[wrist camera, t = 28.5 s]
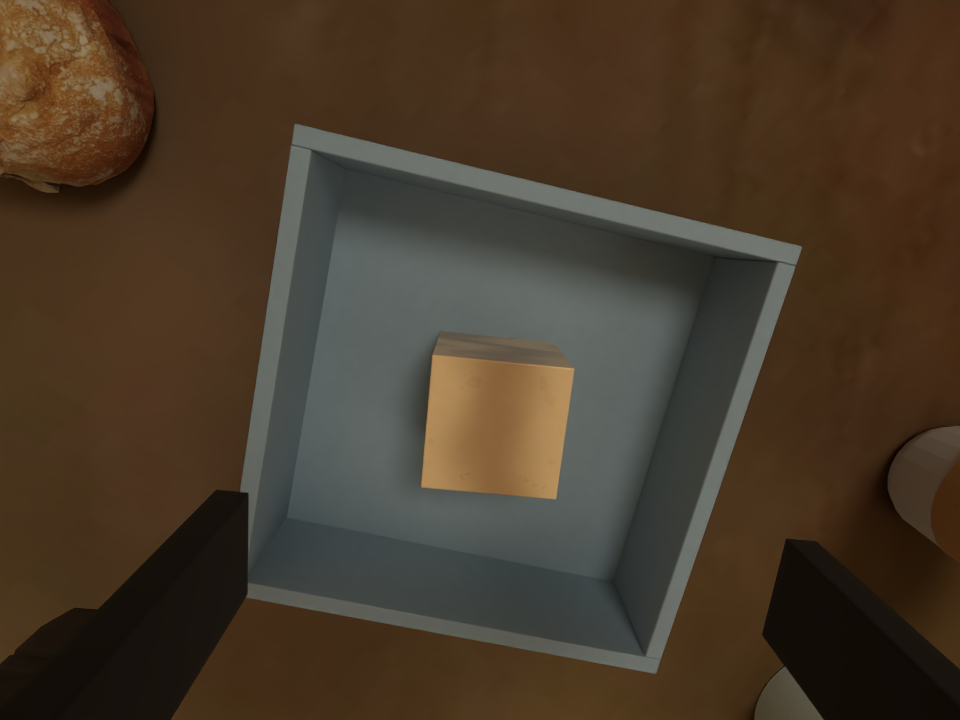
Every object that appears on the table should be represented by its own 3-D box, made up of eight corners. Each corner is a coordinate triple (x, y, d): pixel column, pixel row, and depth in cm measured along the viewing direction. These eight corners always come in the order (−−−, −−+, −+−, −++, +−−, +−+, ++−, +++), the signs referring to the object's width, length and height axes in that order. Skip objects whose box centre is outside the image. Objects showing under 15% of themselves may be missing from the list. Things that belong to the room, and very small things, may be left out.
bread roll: (23, 167, 31) (-89, 228, 24) (-106, -67, 24) (-302, -67, 18) (202, 156, 31) (138, 215, 24) (120, -80, 24) (4, -84, 18)
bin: (334, 149, 27) (294, 122, 21) (729, 244, 29) (803, 246, 22) (273, 522, 32) (224, 594, 25) (620, 590, 33) (656, 674, 27)
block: (430, 439, 30) (420, 488, 24) (439, 331, 29) (432, 354, 23) (539, 449, 30) (556, 499, 24) (553, 342, 29) (574, 368, 23)
